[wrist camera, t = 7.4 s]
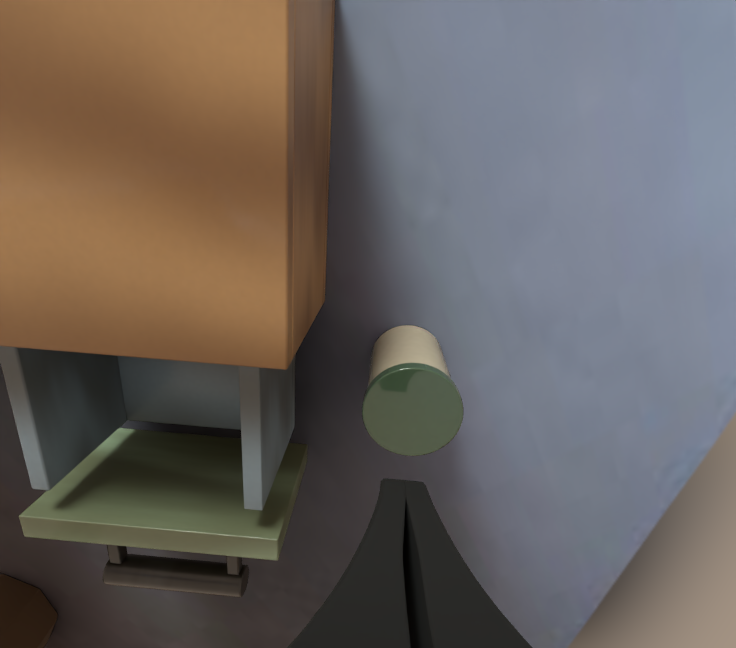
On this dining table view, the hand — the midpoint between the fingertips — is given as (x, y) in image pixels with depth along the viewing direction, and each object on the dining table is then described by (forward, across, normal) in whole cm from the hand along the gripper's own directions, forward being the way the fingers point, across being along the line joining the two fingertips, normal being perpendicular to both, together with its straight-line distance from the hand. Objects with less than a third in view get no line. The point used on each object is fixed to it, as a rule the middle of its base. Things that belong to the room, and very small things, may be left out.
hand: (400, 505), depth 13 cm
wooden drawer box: (+10, +10, -10) cm, 18 cm away
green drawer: (+10, +10, +2) cm, 14 cm away
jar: (+10, -1, 0) cm, 11 cm away
